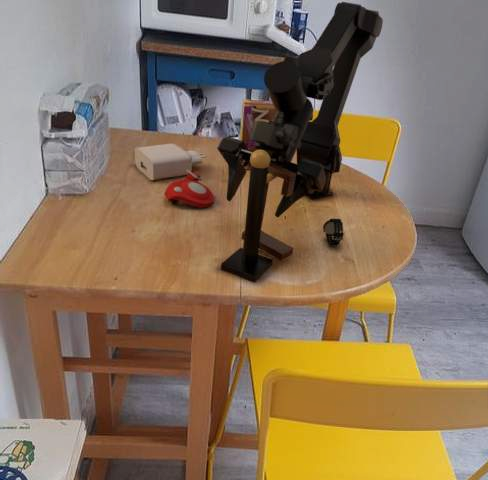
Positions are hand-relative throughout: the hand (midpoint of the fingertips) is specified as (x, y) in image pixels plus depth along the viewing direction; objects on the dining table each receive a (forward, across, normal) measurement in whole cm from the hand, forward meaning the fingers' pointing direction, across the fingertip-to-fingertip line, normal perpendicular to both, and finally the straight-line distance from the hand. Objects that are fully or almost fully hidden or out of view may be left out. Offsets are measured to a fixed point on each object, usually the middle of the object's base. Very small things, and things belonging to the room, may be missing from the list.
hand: (251, 208), depth 84 cm
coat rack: (+8, +3, +4) cm, 9 cm away
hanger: (+4, +3, +5) cm, 7 cm away
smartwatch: (-2, +12, +14) cm, 18 cm away
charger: (-9, -30, +21) cm, 38 cm away
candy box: (-19, -17, +31) cm, 40 cm away
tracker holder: (-2, -19, +14) cm, 24 cm away
